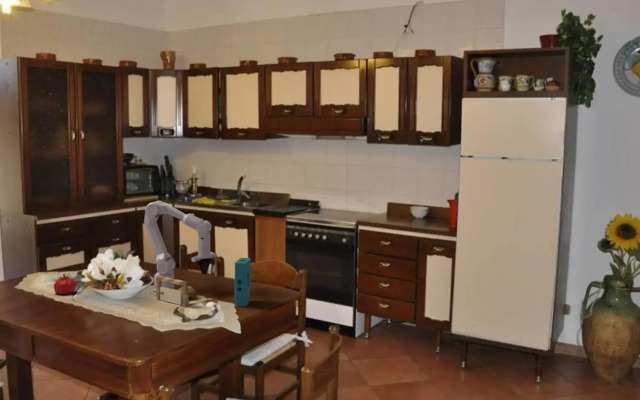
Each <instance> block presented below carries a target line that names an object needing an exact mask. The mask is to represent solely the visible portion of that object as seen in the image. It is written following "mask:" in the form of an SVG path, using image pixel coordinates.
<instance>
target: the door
mask: <svg viewBox="0 0 640 400" xmlns="http://www.w3.org/2000/svg"><path fill="white" fill-rule="evenodd" d="M175 289H176V288H174V289H170V288H166V287H160V300H159V301H163V302H167V303H172V304H175V305H180V306H183V291H179V290H175Z"/></svg>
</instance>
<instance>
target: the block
mask: <svg viewBox="0 0 640 400" xmlns="http://www.w3.org/2000/svg"><path fill="white" fill-rule="evenodd" d="M251 262H252V261H251V258H250V257H240V258H238V259H237V260H236V261H235V262H234V301H235V302H234V304H235V307H247V306H248V305H249V304H250V301H251V300H250V299H251V280H252V279H251V278H252V277H251V274H252V273H251V272H252V271H251V266H252V265H251V264H252V263H251Z"/></svg>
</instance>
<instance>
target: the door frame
mask: <svg viewBox="0 0 640 400" xmlns="http://www.w3.org/2000/svg"><path fill="white" fill-rule="evenodd" d="M162 281H165V282H169V283H173V284H174V285H177V286H181V287H182V286H183V305H182V307H183V308H187V307H189V301H188V286H189V281H185V280H181V279H176V278H174V279H172V278H168V277H163V276H156V291H155V293H156V301H161V300H160V287H162Z"/></svg>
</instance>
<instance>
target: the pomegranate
mask: <svg viewBox="0 0 640 400" xmlns="http://www.w3.org/2000/svg"><path fill="white" fill-rule="evenodd" d="M77 285H78V283H77V281H76V280H75V279H74V278H73V277H72V276H70V275H69V276H67V277H66V274H65V273H63V274H62V277H61V276H59V277H57V280H56V281H55V282H54V284H53V290H54V292H55V294H56V295H71V294H73V293H75V291H76V290H77ZM74 290H75V291H74Z"/></svg>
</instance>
